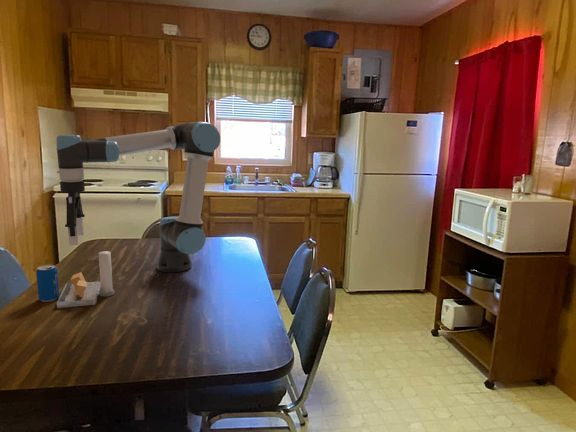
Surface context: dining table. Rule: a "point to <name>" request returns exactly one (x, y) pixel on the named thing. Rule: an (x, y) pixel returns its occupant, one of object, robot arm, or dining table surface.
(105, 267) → the white rounded smooth part
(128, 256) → the dining table surface
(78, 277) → the paddle
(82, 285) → the paddle
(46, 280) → the beverage can
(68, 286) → the breaker plate
